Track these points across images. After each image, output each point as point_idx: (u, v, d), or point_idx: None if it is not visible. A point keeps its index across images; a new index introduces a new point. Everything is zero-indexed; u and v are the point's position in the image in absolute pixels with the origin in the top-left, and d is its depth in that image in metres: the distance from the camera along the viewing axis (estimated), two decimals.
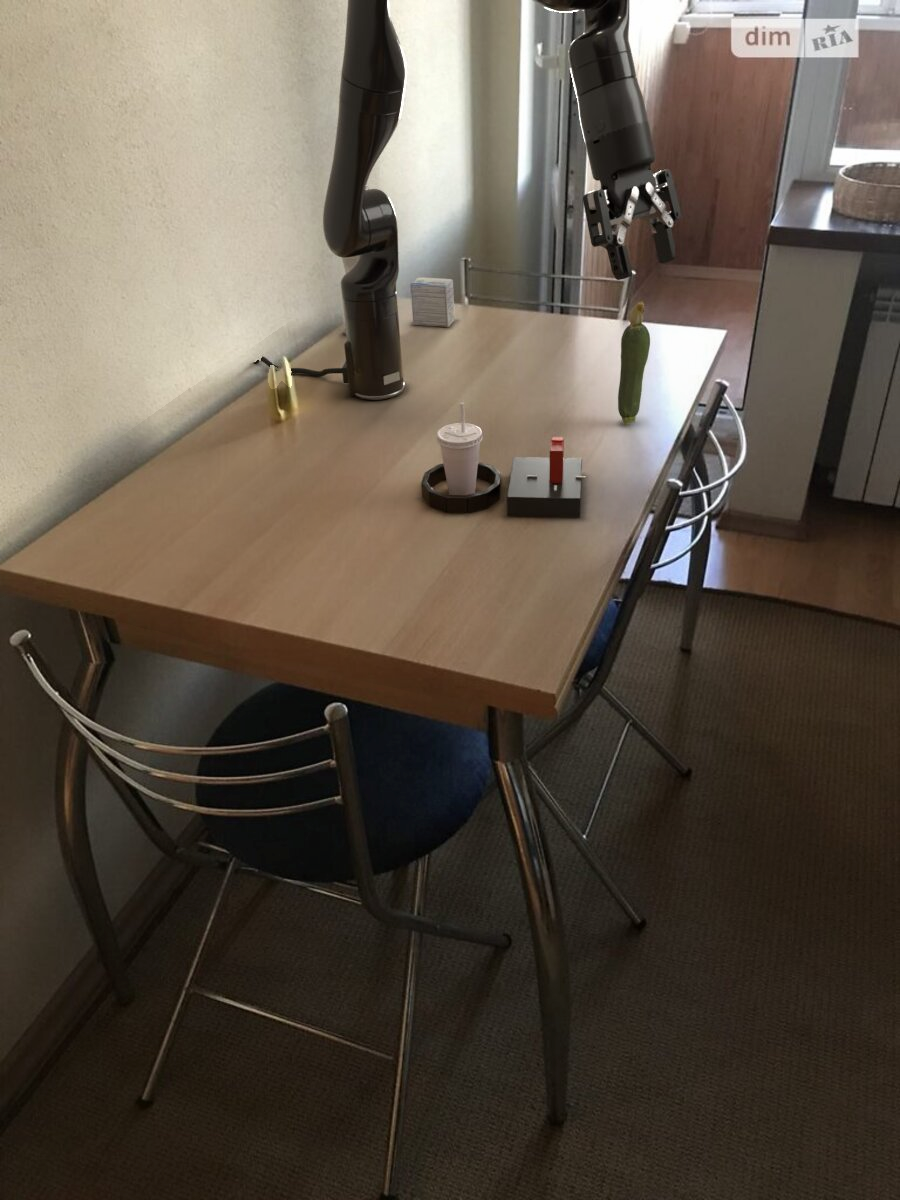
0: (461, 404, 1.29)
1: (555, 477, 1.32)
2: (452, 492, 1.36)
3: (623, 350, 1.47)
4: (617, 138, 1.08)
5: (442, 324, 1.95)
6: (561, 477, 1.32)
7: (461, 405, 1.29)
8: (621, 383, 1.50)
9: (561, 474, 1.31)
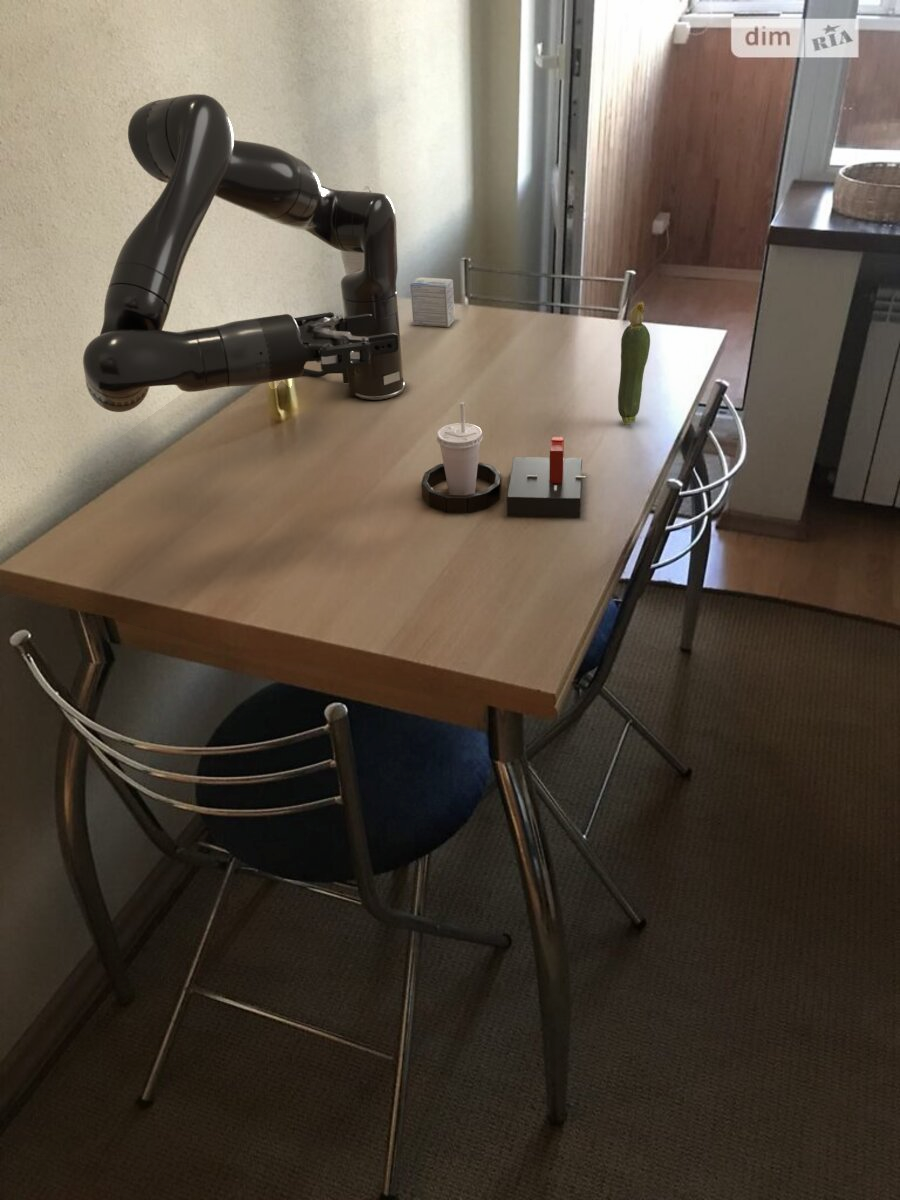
0: (461, 404, 1.29)
1: (555, 477, 1.32)
2: (452, 492, 1.36)
3: (623, 350, 1.47)
4: None
5: (442, 324, 1.95)
6: (561, 477, 1.32)
7: (461, 405, 1.29)
8: (621, 383, 1.50)
9: (561, 474, 1.31)
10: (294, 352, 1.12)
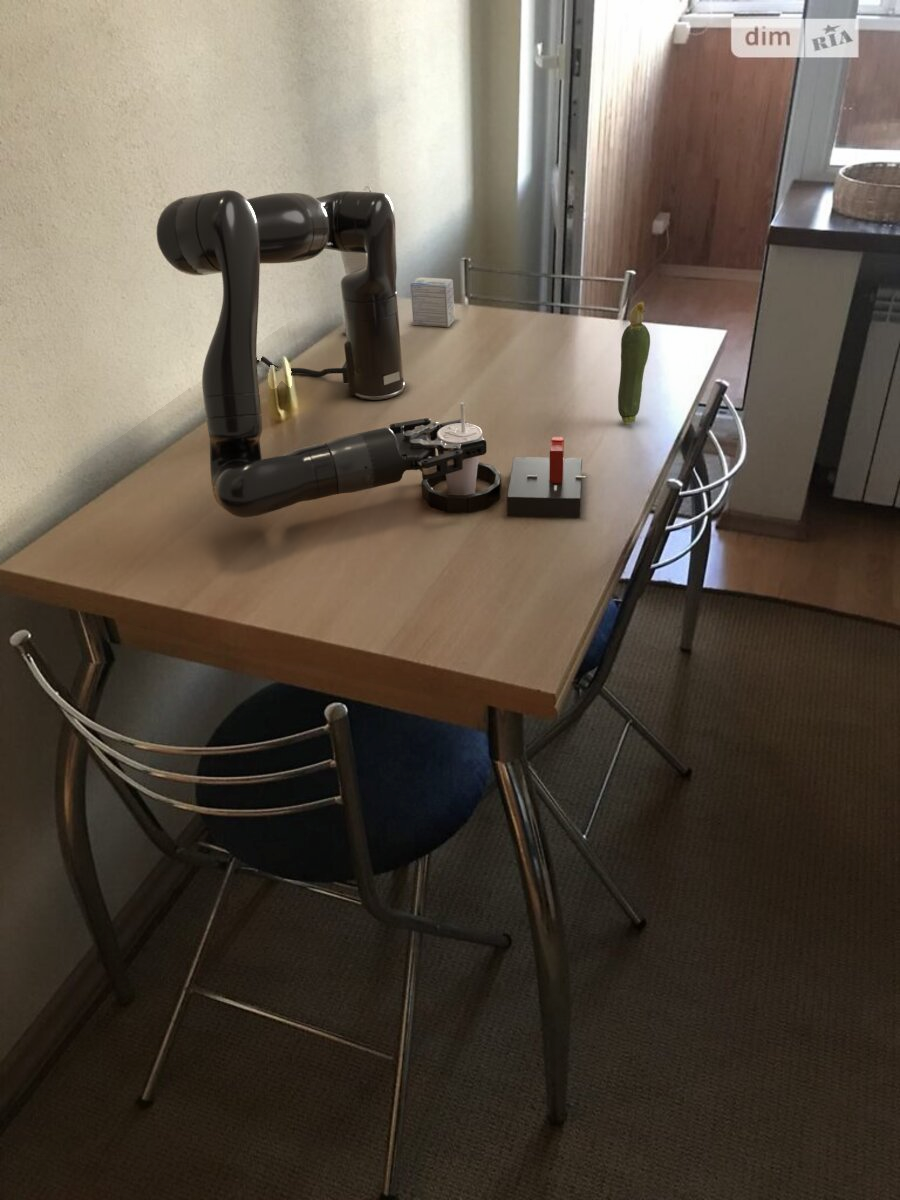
0: (461, 404, 1.29)
1: (555, 477, 1.32)
2: (452, 492, 1.36)
3: (623, 350, 1.47)
4: None
5: (442, 324, 1.95)
6: (561, 477, 1.32)
7: (461, 405, 1.29)
8: (621, 383, 1.50)
9: (561, 474, 1.31)
10: (394, 464, 1.26)
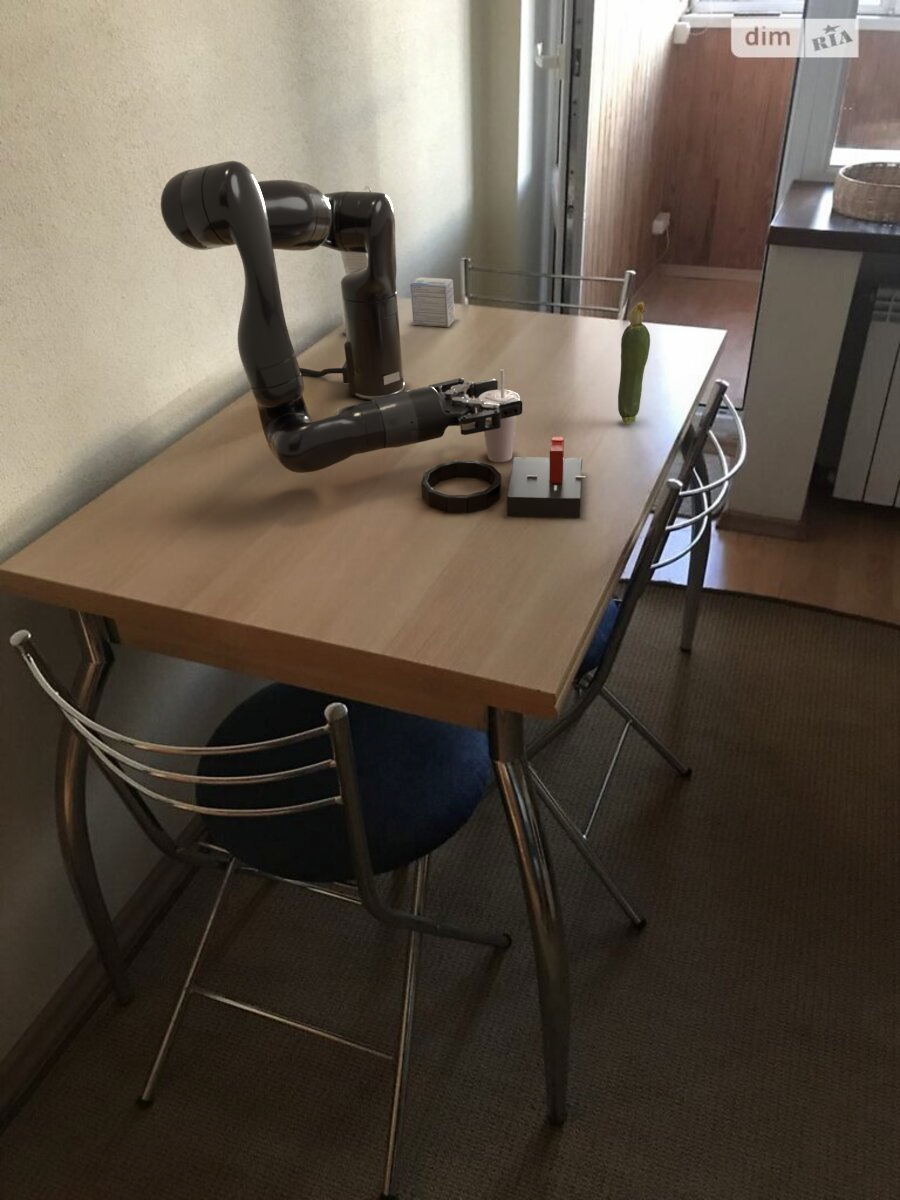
0: (501, 371, 1.38)
1: (555, 477, 1.32)
2: (491, 454, 1.45)
3: (623, 350, 1.47)
4: None
5: (442, 324, 1.95)
6: (561, 477, 1.32)
7: (501, 372, 1.38)
8: (621, 383, 1.50)
9: (561, 474, 1.31)
10: (438, 420, 1.35)
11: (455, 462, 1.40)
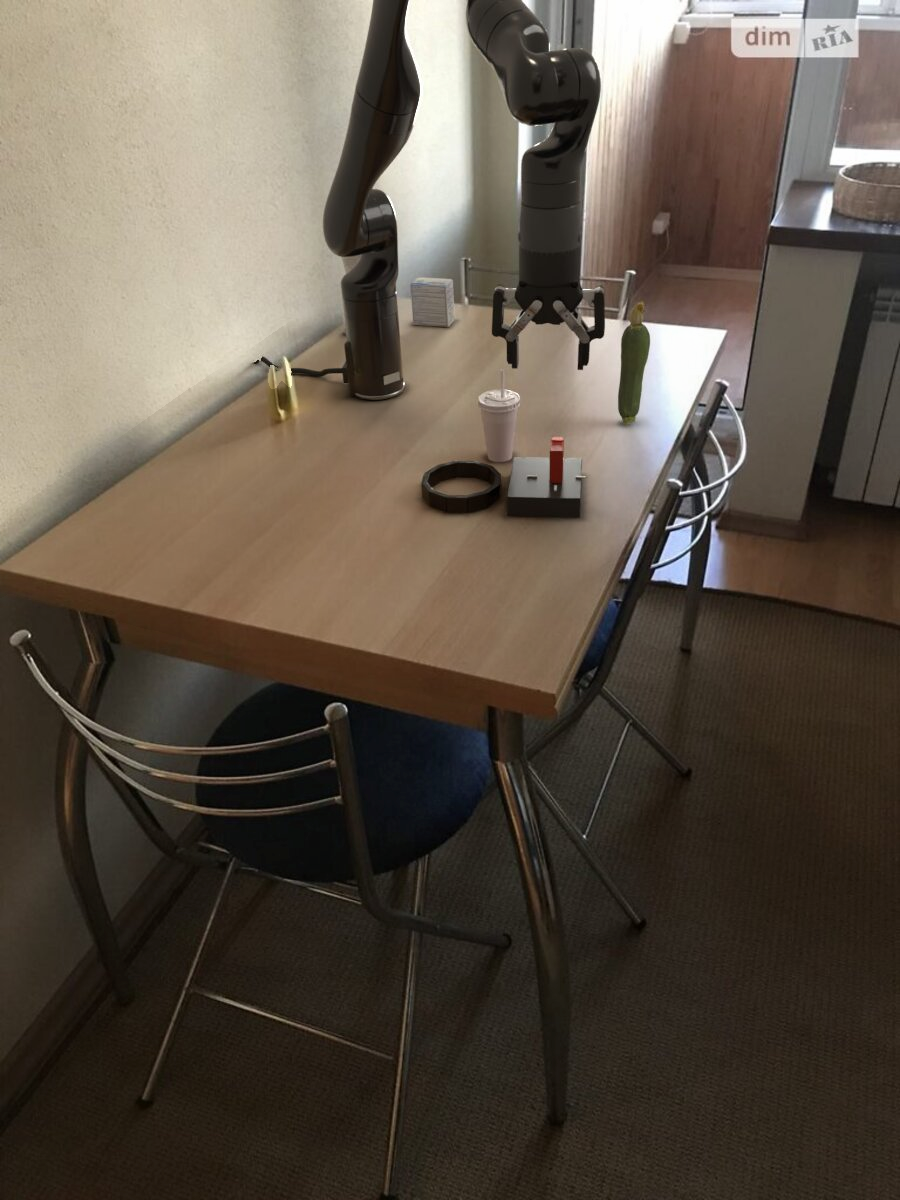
0: (501, 371, 1.38)
1: (555, 477, 1.32)
2: (491, 454, 1.45)
3: (623, 350, 1.47)
4: (523, 256, 1.14)
5: (442, 324, 1.95)
6: (561, 477, 1.32)
7: (501, 372, 1.38)
8: (621, 383, 1.50)
9: (561, 474, 1.31)
10: None
11: (455, 462, 1.40)
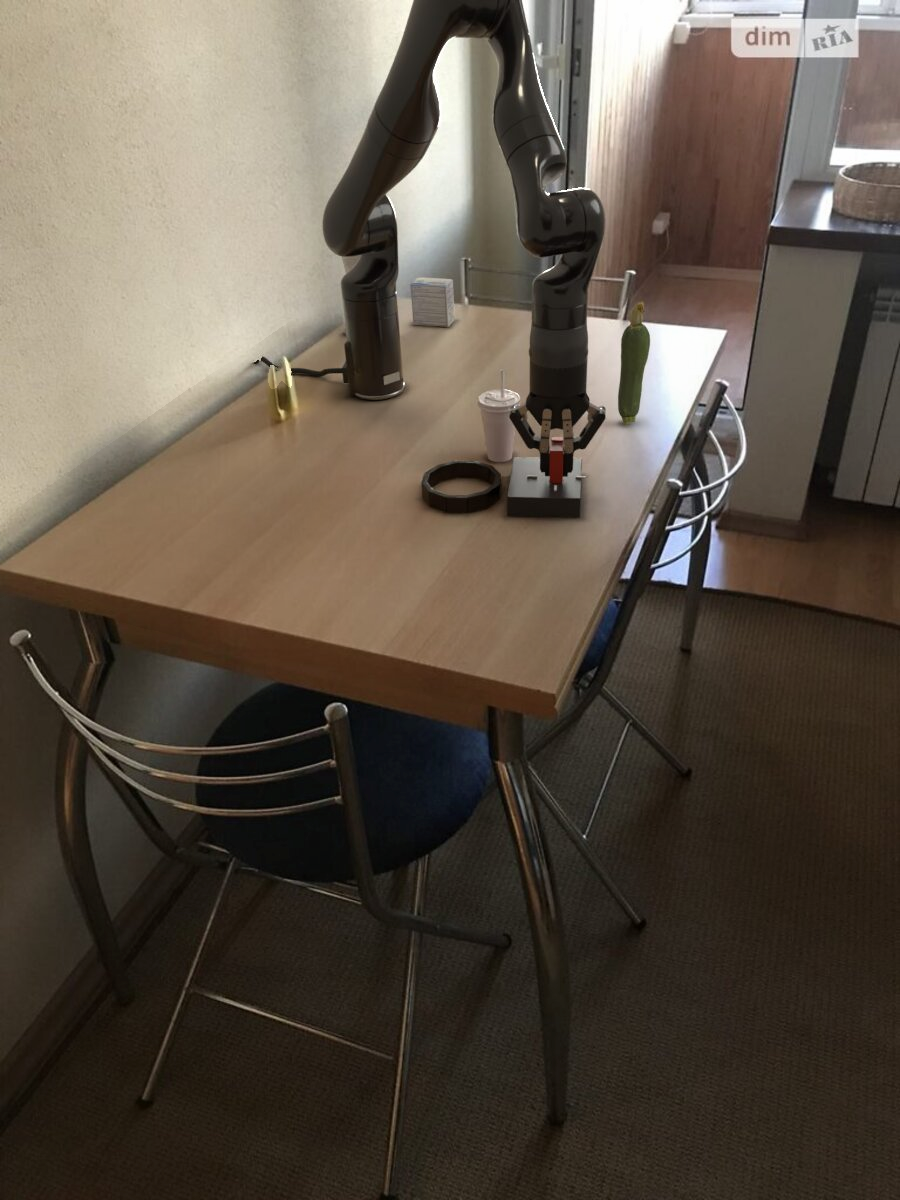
0: (501, 371, 1.38)
1: (555, 477, 1.32)
2: (491, 454, 1.45)
3: (623, 350, 1.47)
4: (535, 370, 1.23)
5: (442, 324, 1.95)
6: (561, 477, 1.32)
7: (501, 372, 1.38)
8: (621, 383, 1.50)
9: (561, 474, 1.31)
10: None
11: (455, 462, 1.40)
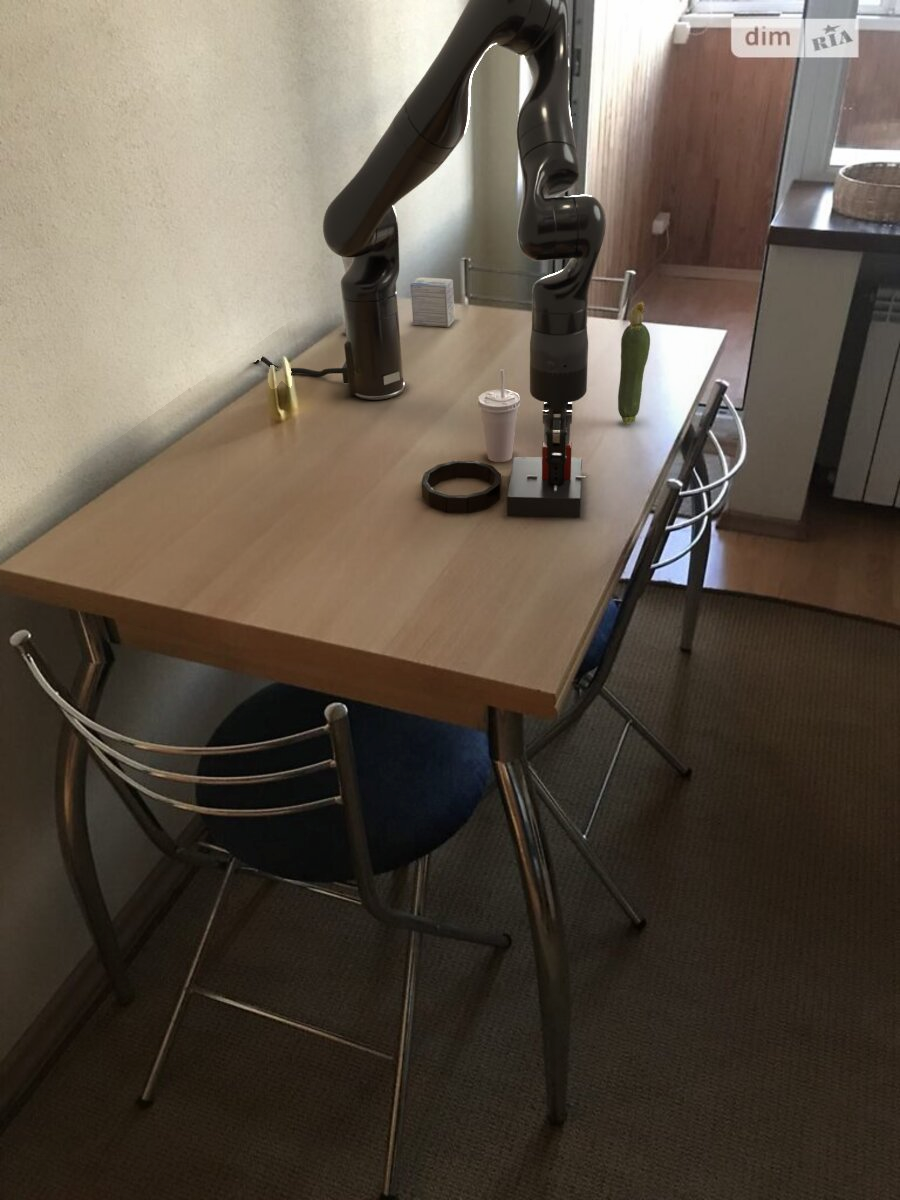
0: (501, 371, 1.38)
1: None
2: (491, 454, 1.45)
3: (623, 350, 1.47)
4: None
5: (442, 324, 1.95)
6: (542, 473, 1.33)
7: (501, 372, 1.38)
8: (621, 383, 1.50)
9: None
10: (560, 395, 1.23)
11: (455, 462, 1.40)
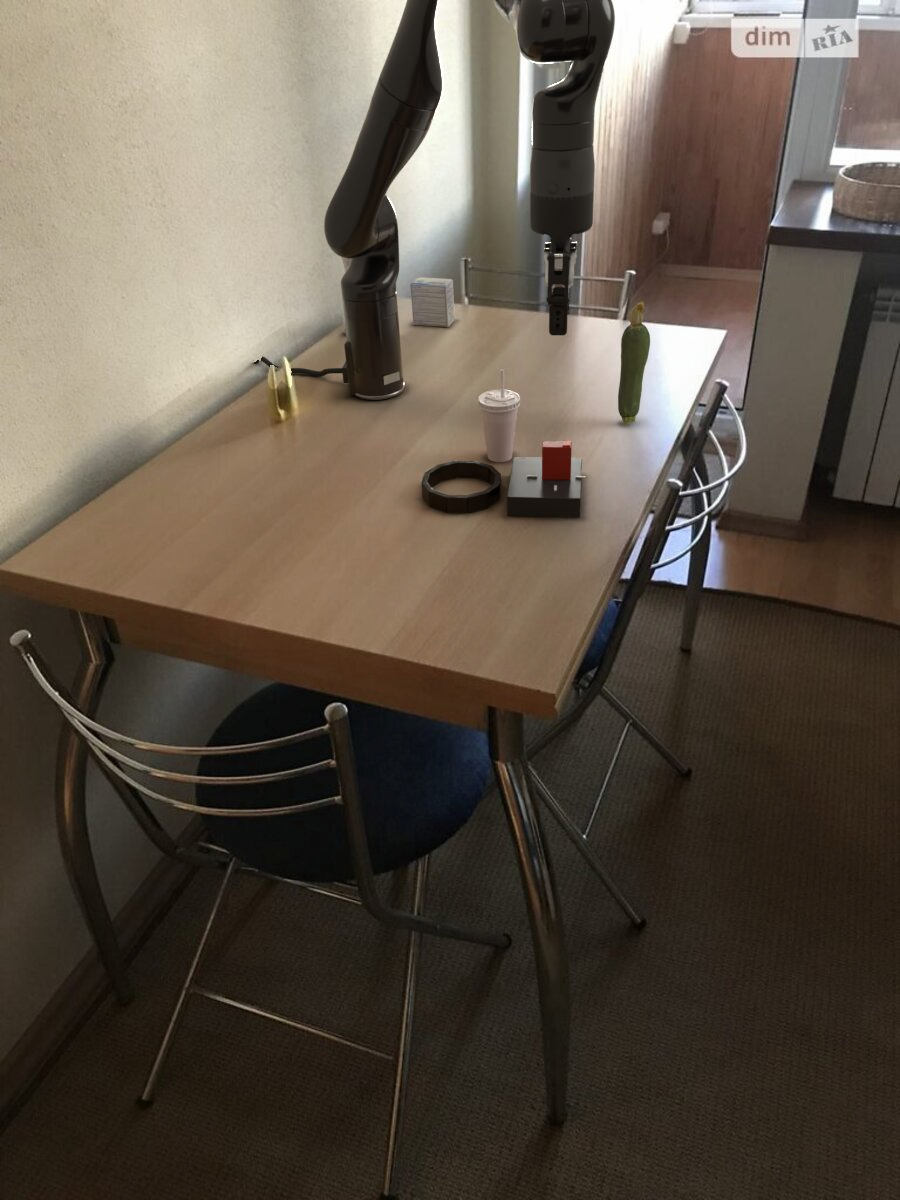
0: (501, 371, 1.38)
1: None
2: (491, 454, 1.45)
3: (623, 350, 1.47)
4: None
5: (442, 324, 1.95)
6: (542, 473, 1.33)
7: (501, 372, 1.38)
8: (621, 383, 1.50)
9: None
10: (563, 225, 1.11)
11: (455, 462, 1.40)
